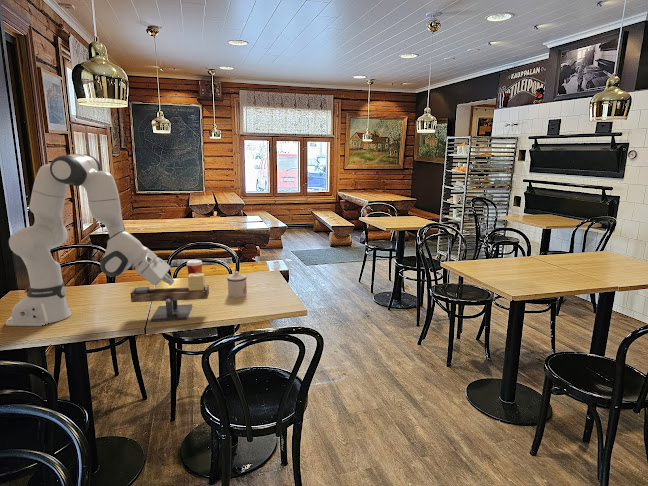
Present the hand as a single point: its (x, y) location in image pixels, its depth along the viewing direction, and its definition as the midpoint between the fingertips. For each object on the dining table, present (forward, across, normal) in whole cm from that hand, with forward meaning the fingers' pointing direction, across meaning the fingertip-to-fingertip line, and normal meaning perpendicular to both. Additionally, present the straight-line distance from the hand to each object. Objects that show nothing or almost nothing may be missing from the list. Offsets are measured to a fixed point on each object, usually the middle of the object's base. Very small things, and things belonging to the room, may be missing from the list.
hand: (172, 283), depth 175 cm
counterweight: (-5, 0, -12) cm, 13 cm away
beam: (+4, 0, -6) cm, 7 cm away
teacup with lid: (+27, -22, +8) cm, 36 cm away
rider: (+10, 0, +4) cm, 11 cm away
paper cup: (+13, -35, -7) cm, 38 cm away
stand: (+9, 0, -10) cm, 14 cm away
